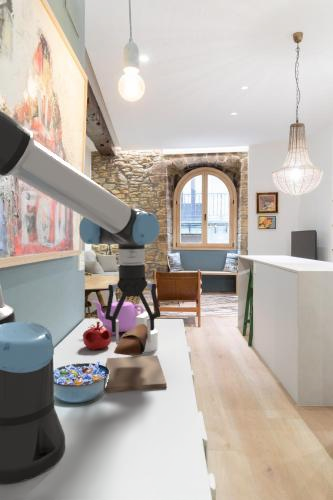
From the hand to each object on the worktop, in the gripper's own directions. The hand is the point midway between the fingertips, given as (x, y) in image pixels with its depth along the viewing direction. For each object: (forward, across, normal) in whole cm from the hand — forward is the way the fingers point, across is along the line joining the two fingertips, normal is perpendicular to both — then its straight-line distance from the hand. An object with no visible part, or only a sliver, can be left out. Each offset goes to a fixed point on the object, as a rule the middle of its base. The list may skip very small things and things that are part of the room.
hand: (133, 342), depth 102 cm
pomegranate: (+10, -12, +27) cm, 31 cm away
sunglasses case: (+1, 0, 0) cm, 1 cm away
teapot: (+9, -4, +46) cm, 47 cm away
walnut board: (+9, 0, 0) cm, 9 cm away
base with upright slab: (+9, +5, +23) cm, 25 cm away
